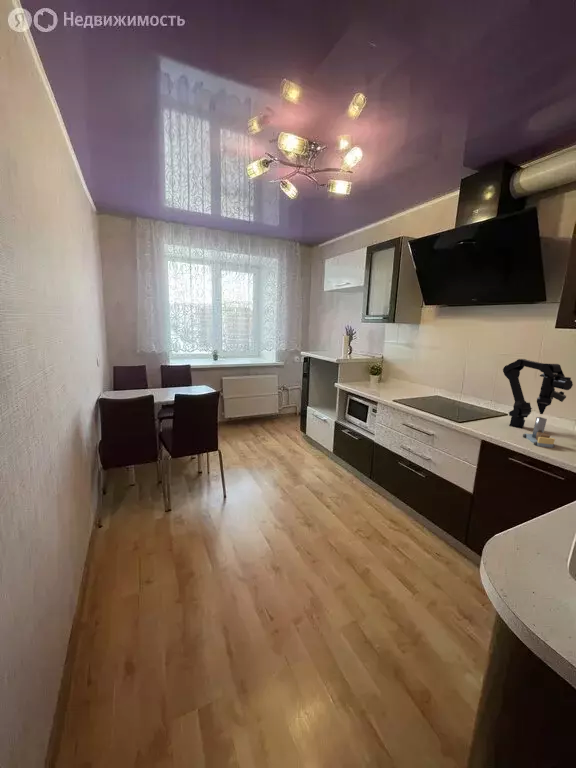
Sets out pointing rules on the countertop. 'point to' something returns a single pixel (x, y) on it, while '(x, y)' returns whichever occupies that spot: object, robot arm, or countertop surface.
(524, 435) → the cart
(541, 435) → the collected block
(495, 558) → the countertop surface
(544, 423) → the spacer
